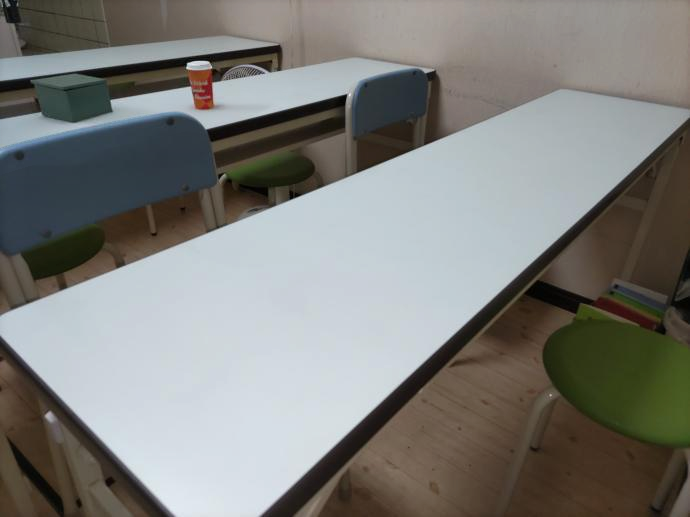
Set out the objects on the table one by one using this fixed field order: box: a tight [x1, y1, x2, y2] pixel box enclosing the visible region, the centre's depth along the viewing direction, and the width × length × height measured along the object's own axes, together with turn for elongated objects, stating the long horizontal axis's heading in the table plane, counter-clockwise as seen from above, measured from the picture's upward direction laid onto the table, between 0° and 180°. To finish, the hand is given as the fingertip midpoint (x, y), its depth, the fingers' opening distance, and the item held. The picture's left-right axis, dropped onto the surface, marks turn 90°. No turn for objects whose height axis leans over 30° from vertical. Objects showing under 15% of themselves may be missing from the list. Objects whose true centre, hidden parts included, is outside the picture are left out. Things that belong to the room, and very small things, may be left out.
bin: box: [33, 82, 114, 124], centre depth 150 cm, size 14×14×9 cm
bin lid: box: [30, 73, 108, 90], centre depth 147 cm, size 14×14×1 cm
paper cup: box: [185, 60, 215, 111], centre depth 157 cm, size 8×8×14 cm
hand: (14, 22), depth 137 cm, fingers closed
